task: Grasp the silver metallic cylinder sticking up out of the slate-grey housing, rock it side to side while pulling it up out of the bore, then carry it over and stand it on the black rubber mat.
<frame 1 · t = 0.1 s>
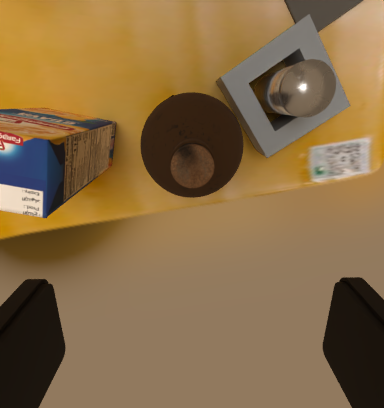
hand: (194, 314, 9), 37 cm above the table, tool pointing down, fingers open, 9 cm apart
olive oil: (191, 131, 44), on the table
beverage box: (80, 137, 44), on the table
housing: (271, 93, 42), on the table
silver metallic cylinder: (286, 91, 35), in the housing
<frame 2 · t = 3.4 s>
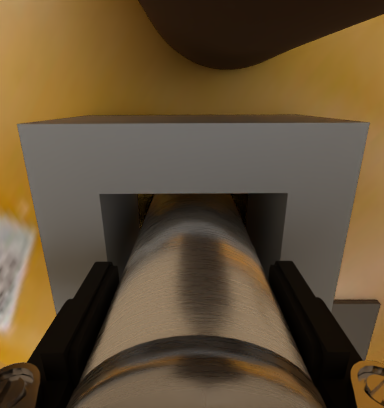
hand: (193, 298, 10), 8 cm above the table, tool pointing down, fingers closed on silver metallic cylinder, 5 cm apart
mat: (301, 347, 22), on the table
housing: (192, 212, 18), on the table
silver metallic cylinder: (193, 274, 12), in the housing, touching gripper
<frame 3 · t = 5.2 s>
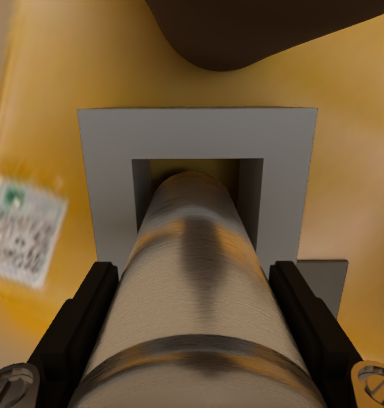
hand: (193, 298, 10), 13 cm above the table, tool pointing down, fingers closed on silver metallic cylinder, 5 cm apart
mat: (285, 301, 27), on the table
housing: (195, 185, 23), on the table
silver metallic cylinder: (193, 273, 12), point 12 cm above the table, touching gripper
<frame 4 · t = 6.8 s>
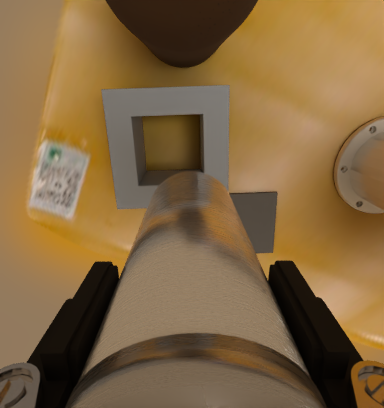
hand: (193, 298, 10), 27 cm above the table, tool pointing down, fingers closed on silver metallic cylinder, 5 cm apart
mat: (238, 224, 39), on the table
olive oil: (183, 20, 31), on the table
housing: (172, 142, 35), on the table
silver metallic cylinder: (192, 273, 12), point 26 cm above the table, touching gripper
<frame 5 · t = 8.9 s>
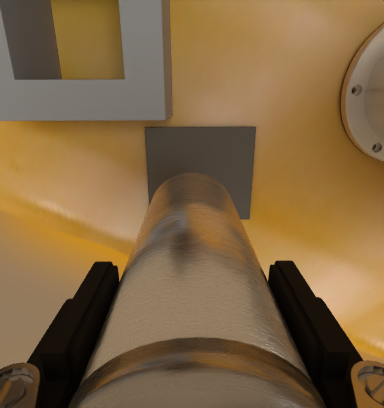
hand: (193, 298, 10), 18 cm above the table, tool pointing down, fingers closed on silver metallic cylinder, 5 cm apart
mat: (199, 175, 27), on the table
housing: (98, 39, 23), on the table
silver metallic cylinder: (193, 275, 12), point 16 cm above the table, touching gripper
when the fingers open (10 cm above the table, at t = 10.6 s): silver metallic cylinder drops 1 cm, resting on mat.
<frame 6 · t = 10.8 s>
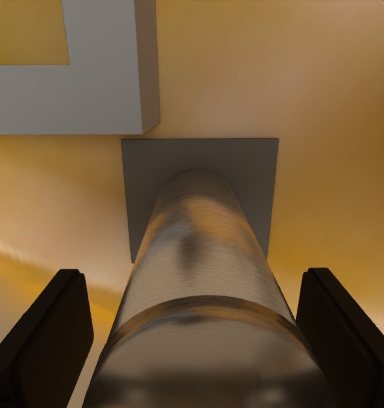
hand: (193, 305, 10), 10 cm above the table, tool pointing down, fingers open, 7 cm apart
mat: (199, 204, 20), on the table
housing: (48, 11, 16), on the table
silver metallic cylinder: (199, 260, 13), on the mat
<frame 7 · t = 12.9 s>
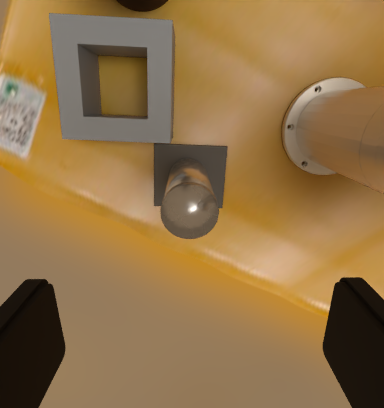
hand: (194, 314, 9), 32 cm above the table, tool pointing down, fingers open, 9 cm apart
mat: (189, 176, 40), on the table
housing: (127, 87, 36), on the table
silver metallic cylinder: (188, 191, 33), on the mat
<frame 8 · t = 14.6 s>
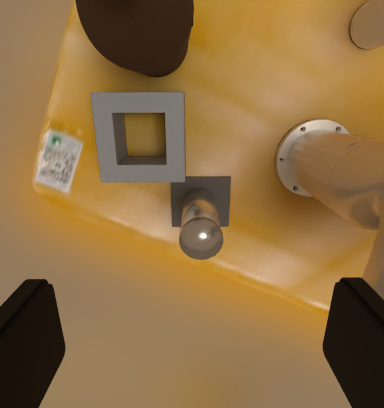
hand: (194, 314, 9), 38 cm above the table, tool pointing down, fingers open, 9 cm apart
paper towel roll: (373, 25, 40), on the table
mat: (200, 201, 49), on the table
olive oil: (156, 41, 41), on the table
housing: (147, 134, 45), on the table
silver metallic cylinder: (200, 218, 42), on the mat
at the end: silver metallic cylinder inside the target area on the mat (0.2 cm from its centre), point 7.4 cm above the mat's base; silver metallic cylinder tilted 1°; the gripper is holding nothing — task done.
